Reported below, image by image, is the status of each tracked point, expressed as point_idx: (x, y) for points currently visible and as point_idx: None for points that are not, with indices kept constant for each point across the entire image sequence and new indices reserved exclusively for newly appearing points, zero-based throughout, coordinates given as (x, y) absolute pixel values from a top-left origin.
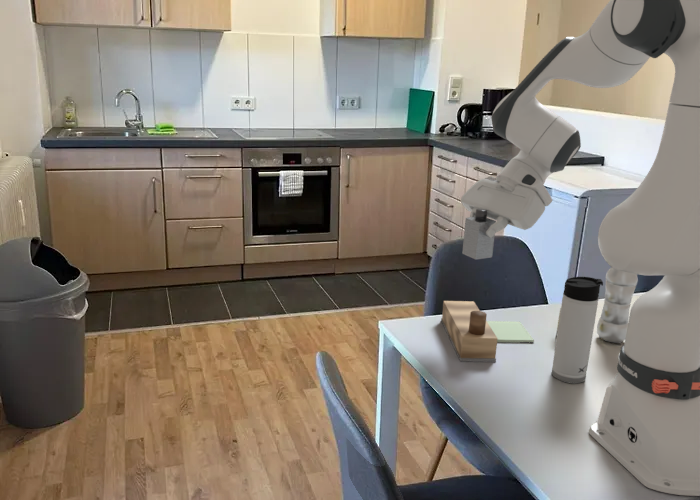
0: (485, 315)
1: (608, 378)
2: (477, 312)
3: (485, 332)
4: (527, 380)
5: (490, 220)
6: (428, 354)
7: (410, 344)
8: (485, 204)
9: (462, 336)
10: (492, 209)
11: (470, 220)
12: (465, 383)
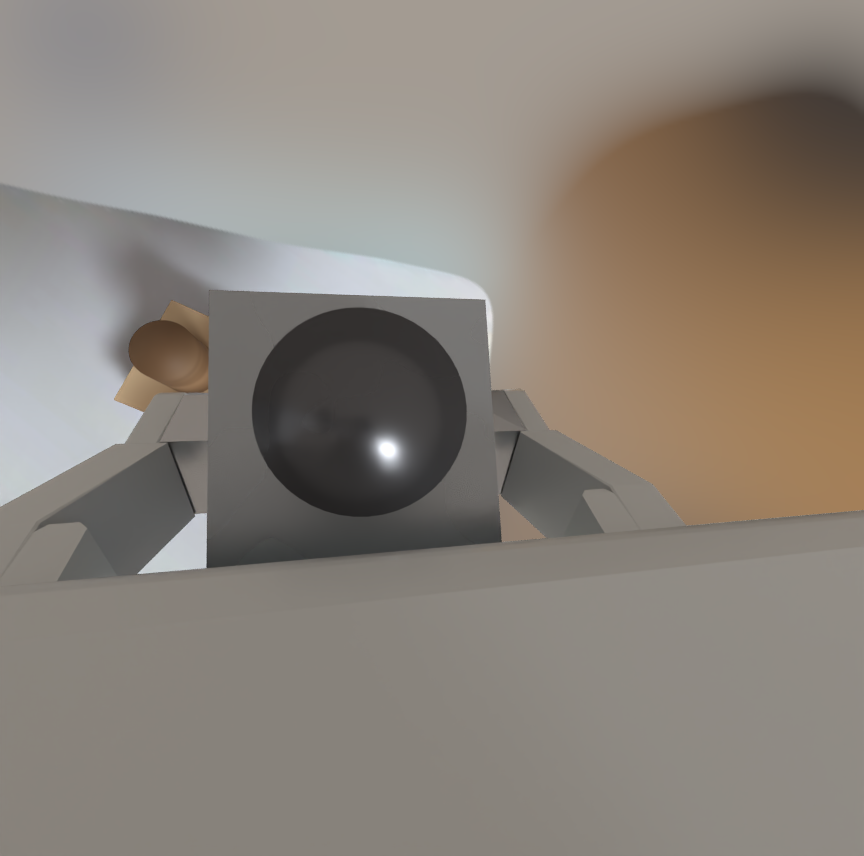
0: (134, 362)
1: None
2: (173, 352)
3: (173, 392)
4: (6, 421)
5: (261, 523)
6: (270, 276)
7: (342, 270)
8: (531, 615)
9: (181, 305)
10: (233, 590)
11: (390, 300)
12: (82, 259)
